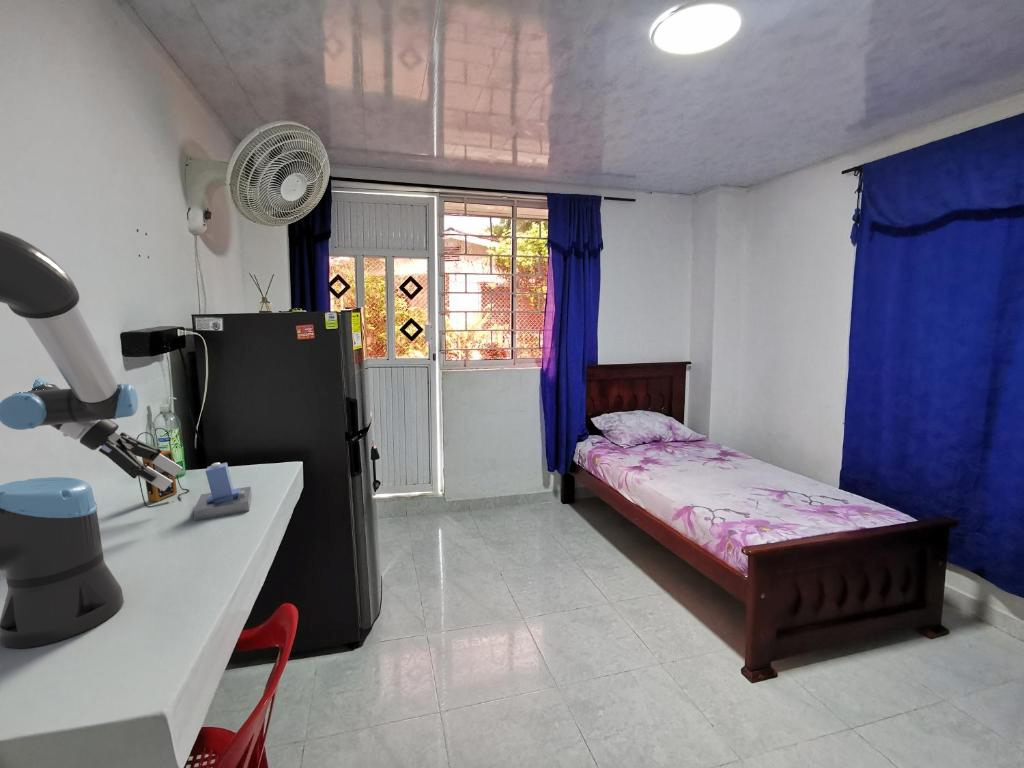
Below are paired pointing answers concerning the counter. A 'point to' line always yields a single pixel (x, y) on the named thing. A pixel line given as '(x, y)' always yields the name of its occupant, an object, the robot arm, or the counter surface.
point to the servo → (220, 483)
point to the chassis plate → (223, 505)
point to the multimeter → (155, 492)
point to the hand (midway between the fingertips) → (174, 478)
